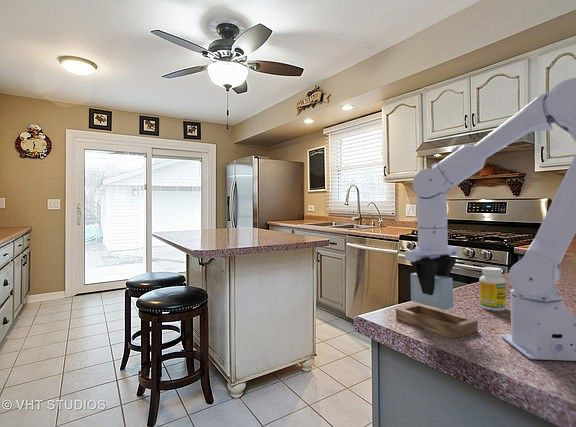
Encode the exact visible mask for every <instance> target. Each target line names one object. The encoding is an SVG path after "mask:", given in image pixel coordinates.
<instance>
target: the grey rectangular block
mask: <svg viewBox="0 0 576 427" xmlns="http://www.w3.org/2000/svg"><path fill="white" fill-rule="evenodd" d="M409 276H410V279H409V280H410V302H414V303H416V304H422V305H426V306H429V307H433V308H436V309H440V310H443V311H446V310H449V309H453V308H454V288H453V283H454V282H453V277H450V276H449V277H445V276H439V275H435V279H434V291H433V295H428V294H424V293H422V289H421V285H420V282H419V279H418V276H417V274H416V272H413V273H410V275H409Z"/></svg>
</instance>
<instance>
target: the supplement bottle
mask: <svg viewBox="0 0 576 427" xmlns="http://www.w3.org/2000/svg"><path fill="white" fill-rule="evenodd" d="M481 272H482V274H483V275H481V276H480V277H479V280H478V281H479V306H480V307H481V308H482V309H484V310H488V311H493V312H495V311H496V312H501V311H505V310H506V309H507V295H506V294H507V293H506V291H507V290H506V289H507V287H506V286H507V285H506V279H505V278H504V277H502V274H503V268H500V267H496V266H495V267H494V266H485V267H484V266H483V267H482V271H481Z"/></svg>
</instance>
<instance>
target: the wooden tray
mask: <svg viewBox="0 0 576 427" xmlns="http://www.w3.org/2000/svg"><path fill="white" fill-rule="evenodd" d="M395 319H397V320H398V321H402V322H405V323H408V324H411V325H413V326H415V327H419V328H421V329H424V330H427V331H429V332H432V333H435V334H438V335H440V336H444V337H446V338H449V339H452V340H456V339H459V338H462V337H466V336H469V335H472V334H475V333H478V331H479V326H478V324H479V320H477V319H474V318H470V317H467V316H463V315H460V314H456V313H452V312H450V311H447V310H443V309H439V308H435V307H431V306H428V305H424V304H420V303H416V304H415V303H414V304H411V305H405V306H402V307H398V308H395Z"/></svg>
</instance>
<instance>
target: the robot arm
mask: <svg viewBox="0 0 576 427" xmlns="http://www.w3.org/2000/svg"><path fill="white" fill-rule="evenodd" d="M552 124H555V125H557V126H558V127H560V129H562V130H563V131H565V132H567V133H568V134H569V135H570V137H571V138H572V139H573V141H574V142H575V143H576V77H573V78H569V79H565V80H563V81H561V82H559V83H557V85H555V86H554V87H553V88H551V90H550V91H549V93H548V91H546V92H544V93H543V94H540V95H538V96H537V97H535V99H533V100H532V101H531V102H530V103H528V104H527V105H526V106H525V107H523V108H522V109H520V111H518V112H517V113H515V114H514V115H513V116H511V117H510V118H509V119H507V120H506V121H504V123H502V124H500V125H499V126H498V127H496V128H495V129H494V130H493V131H491V132H489V133H488V135H486V136H485V137H483V138H482V139H480V140H479V141H478V142H477V143H476V144H473V145H471V144H463V145H461V147H459V146H455V147H453V148H452V149H451V150H450V151H451V153H450V154H449V155H447V156H446V157H445V158H443V159H442V160H440V161H438V163H437V162H434V163H432V164H431V165H430V167H431V168H424V169H420V170H419V172H418V173H416V175H415V176H414V177H413V178H412V179H413V180H412V184H411V185H412V190H413V191H414V193H415V194H416V196H417V197H416V198H417V199H416V200H417V202H416V203H417V204H416V206H417V209H416V210H417V211H416V212H417V214H416V215H417V247H416V246H415V247H414V249H413V248H412V249H410V250H405V251H404V261H405V262H409V263H410V265H411V267H412V268H413V270H414V271H415V272H414V273H416V274H417V276H418V279H419V282H420V285H421V289H422V293H424V294H428V295H433V291H434V279H435V275H439V276H445V277H450V274H451V271H452V269H453V267H455V265H456V263H457V259H456V258H455V257H459V256H460V250H459V249H460V248H459V246H456V245H449V243H448V242H449V241H448V240H449V239H448V237H449V236H448V205H447V204H448V203H447V202H448V201H447V200H448V198H447V195H448V194H449V193H450V191H451V189H452V188H454V187H455V186H456V187H457V185H458V184H461V183H462V182H463V181H464V182H465V180H467V179H469V177H472V176H473V175H475V174H477V173H478V172H480V171H481V170H482V169H483V168H484V166H485V163H486V160H487V158H489V157H490V156H491V157H492V156H493V155H494V154H496V153H497V152H499V151H501V150H502V149H504V148H506V147H508V146H509V145H511V144H513V143H515V142H516V141H517V140H519V139H521V138H523V137H524V136H526V135H527V134H529V133H534V132H546V131H553V126H552ZM574 154H575V155H574V156H573V158H572V160H571V163H569V164H570V165H569V167H568V168H567V170H566V172H565V175H564V177H563V179H562V181H561V184H560V185H559V187H558V189H557V191H556V194H555V195H554V198H553V199H552V201H551V203H550V206H549V207H548V210H547V212H546V214H545V216H544V218H543V220H542V222H541V224H540V227H539V228H538V230H537V233H536V235H535V236H534V239H533V240H532V242H531V244H530V245H529V246H528V248H527V250H526V252H525V254H524V255H523V257H522V258H521V259H520V260H518V261H517V262H516V263H514V264H513V265H512V266H511V267H510V268H509V271H508V273H507V274H508V275H507V277H508V282H509V285H510V287H512V288H511V289H510V290H509V291H510V294H509V295H510V333H511V334H509V333H508V334H507V333H506V334H505V333H503V334H501V335H500V337H501V338H502V339H503V340H504V341H506V342H507V343H508V344H509V345H511V346H512V347H514V348H515V349H516V350H517V351H519V352H520V353H521V354H523V356H525V357H526V358H528V359H530V360H542V361H543V360H547V361H548V360H549V361H567V362H569V361H571V362H576V315H575V314H574V313H573V312H572V311H571V310H570V309H569V308H568V307H566V305H565V304H564V299H563V296H564V295H563V293H561V291H559V289H558V288H557V287H556V285H557V284H558V283H559V281H560V280H561V277H562V269H561V263H562V261H563V258H564V256H565V255H566V252H567V251H568V248H569V246H570V244H571V243H572V241H573V238H574V237H575V234H576V153H574ZM452 256H455V257H452Z"/></svg>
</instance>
